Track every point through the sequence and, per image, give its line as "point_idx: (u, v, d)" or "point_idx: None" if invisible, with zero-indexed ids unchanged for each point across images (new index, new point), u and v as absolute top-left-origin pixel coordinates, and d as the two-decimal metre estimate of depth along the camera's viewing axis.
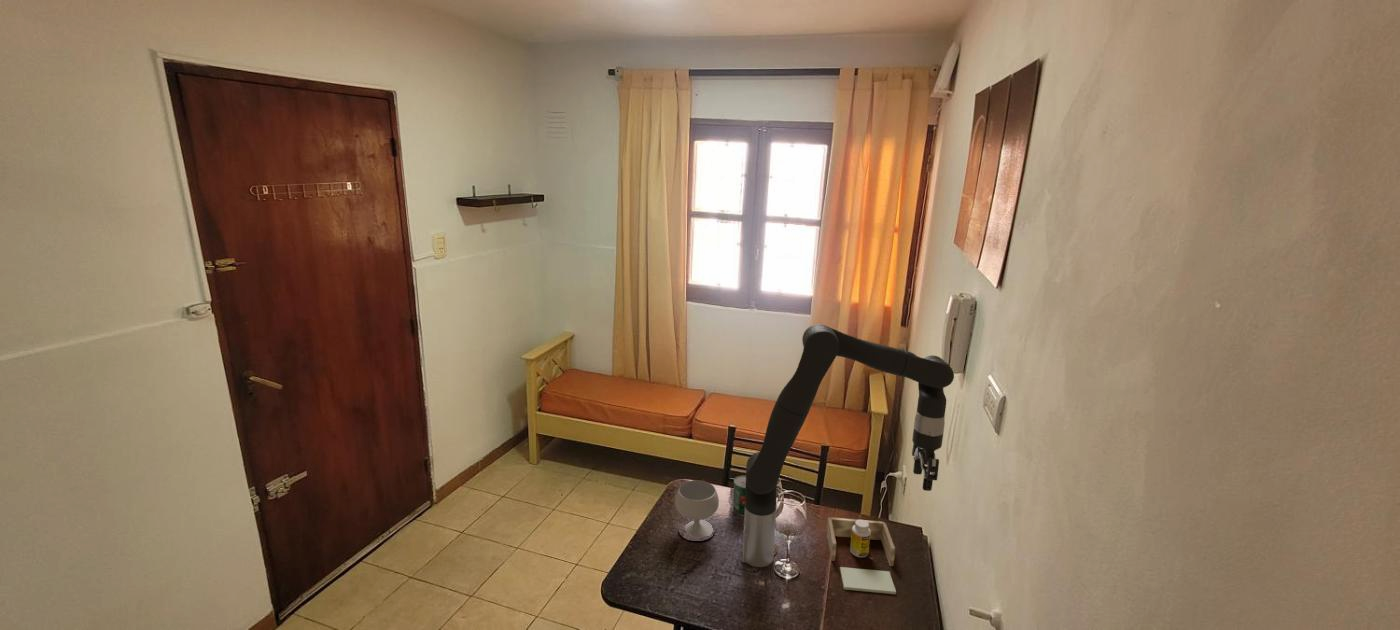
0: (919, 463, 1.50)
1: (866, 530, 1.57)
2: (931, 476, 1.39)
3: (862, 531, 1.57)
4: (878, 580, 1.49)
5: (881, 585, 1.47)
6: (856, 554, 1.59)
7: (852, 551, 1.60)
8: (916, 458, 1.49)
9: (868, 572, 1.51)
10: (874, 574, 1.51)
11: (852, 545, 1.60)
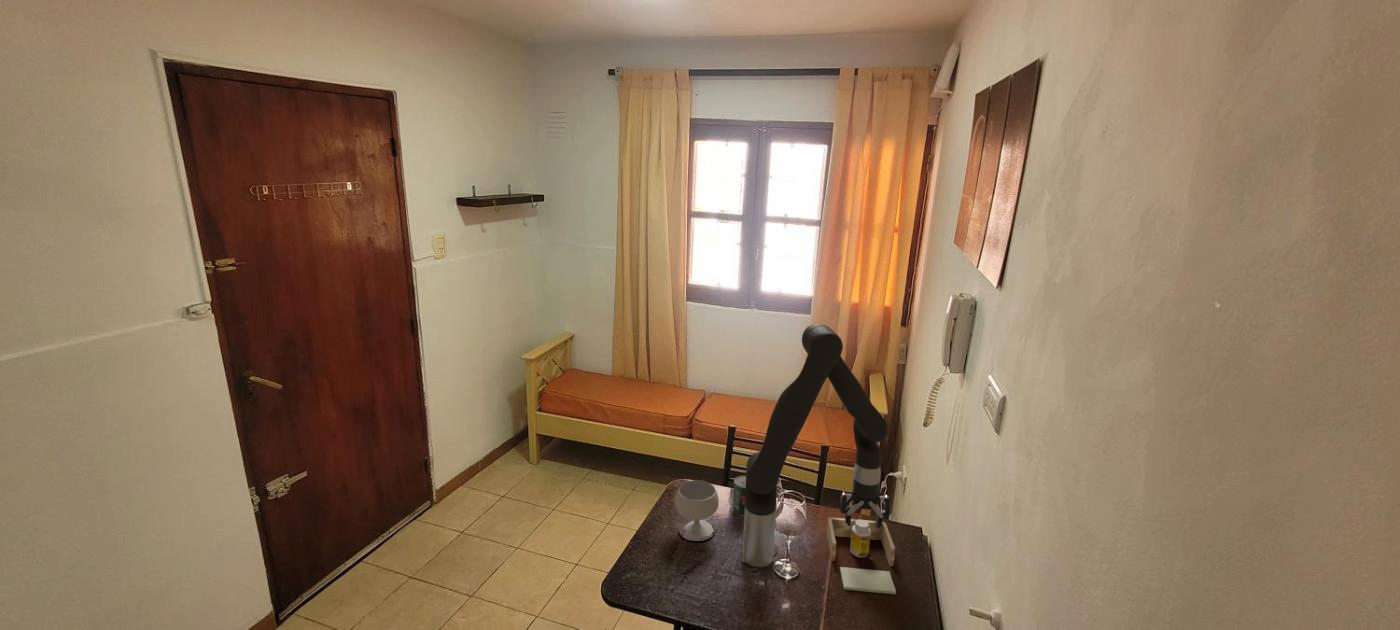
0: None
1: (866, 530, 1.57)
2: None
3: (862, 531, 1.57)
4: (878, 580, 1.49)
5: (881, 585, 1.47)
6: (856, 554, 1.59)
7: (852, 551, 1.60)
8: (853, 511, 1.57)
9: (868, 572, 1.51)
10: (874, 574, 1.51)
11: (852, 545, 1.60)
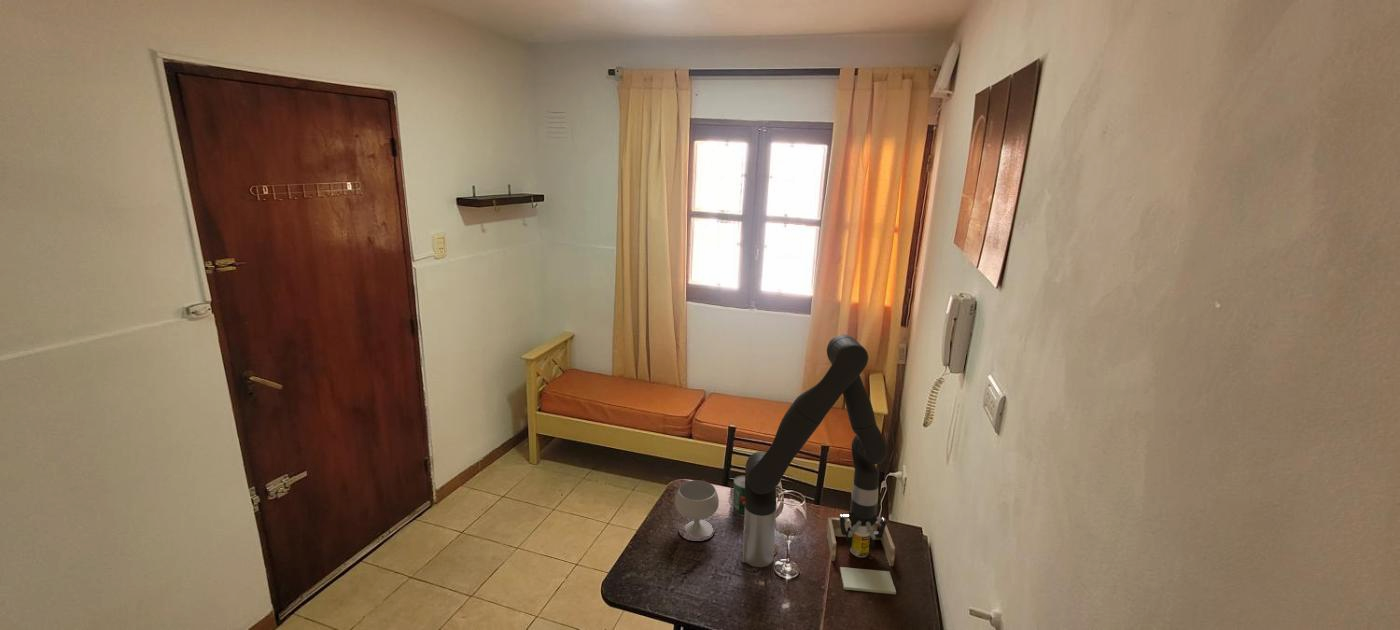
0: None
1: (866, 530, 1.57)
2: None
3: (862, 531, 1.57)
4: (878, 580, 1.49)
5: (881, 585, 1.47)
6: (856, 554, 1.59)
7: (852, 551, 1.60)
8: (853, 532, 1.59)
9: (868, 572, 1.51)
10: (874, 574, 1.51)
11: (852, 545, 1.60)
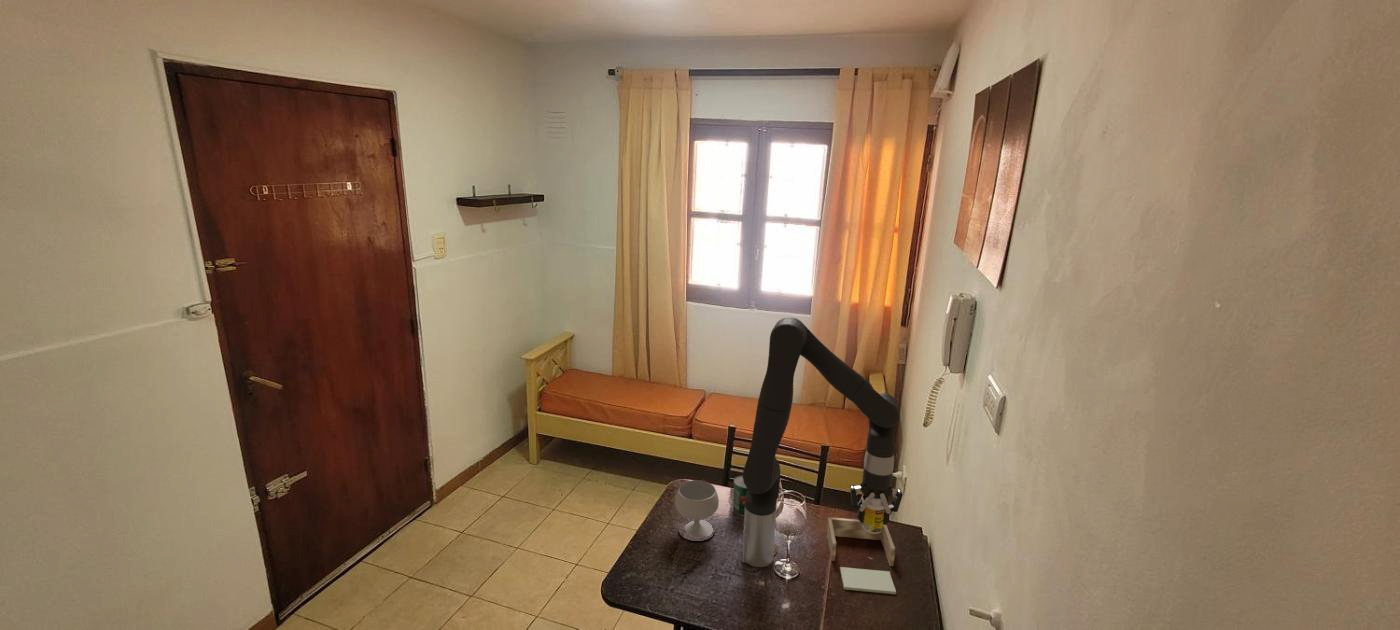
0: None
1: (880, 503, 1.41)
2: None
3: (875, 504, 1.42)
4: (878, 580, 1.49)
5: (881, 585, 1.47)
6: (869, 530, 1.43)
7: (864, 527, 1.44)
8: (866, 505, 1.43)
9: (868, 572, 1.51)
10: (874, 574, 1.51)
11: (864, 520, 1.44)
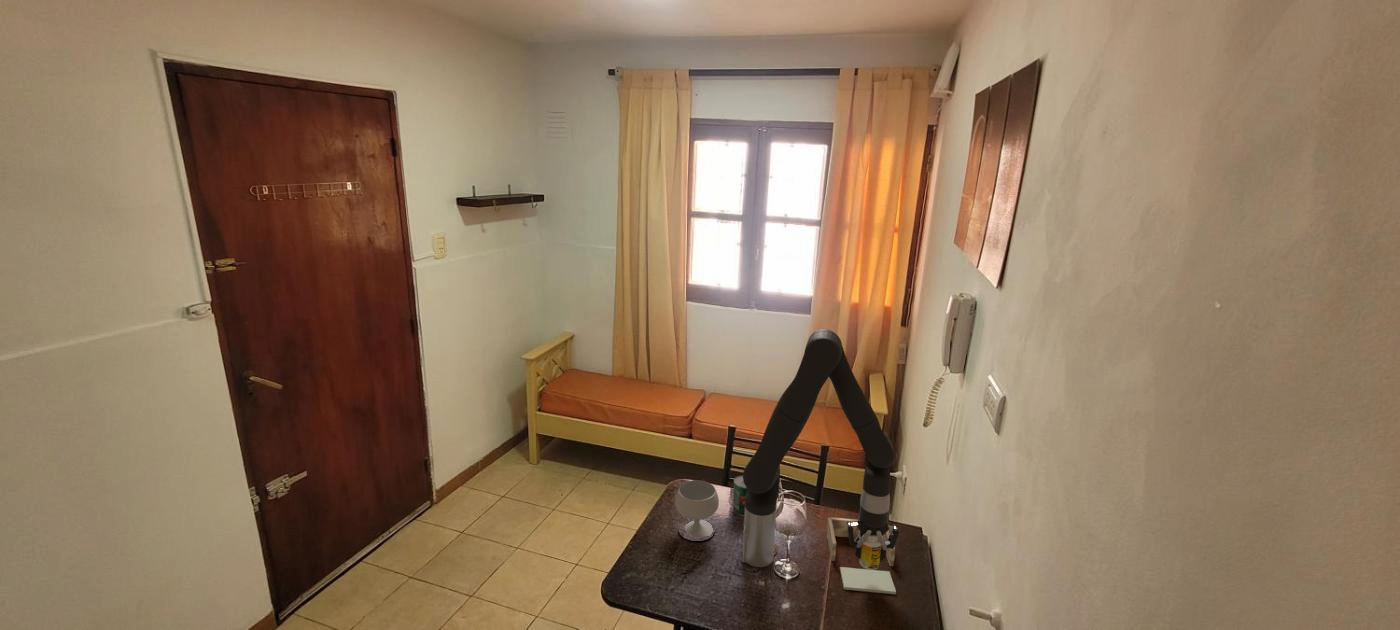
0: None
1: (876, 540, 1.44)
2: None
3: (872, 541, 1.44)
4: (878, 580, 1.49)
5: (881, 585, 1.47)
6: (866, 566, 1.45)
7: (861, 563, 1.46)
8: None
9: (868, 572, 1.51)
10: (874, 574, 1.51)
11: (861, 556, 1.46)
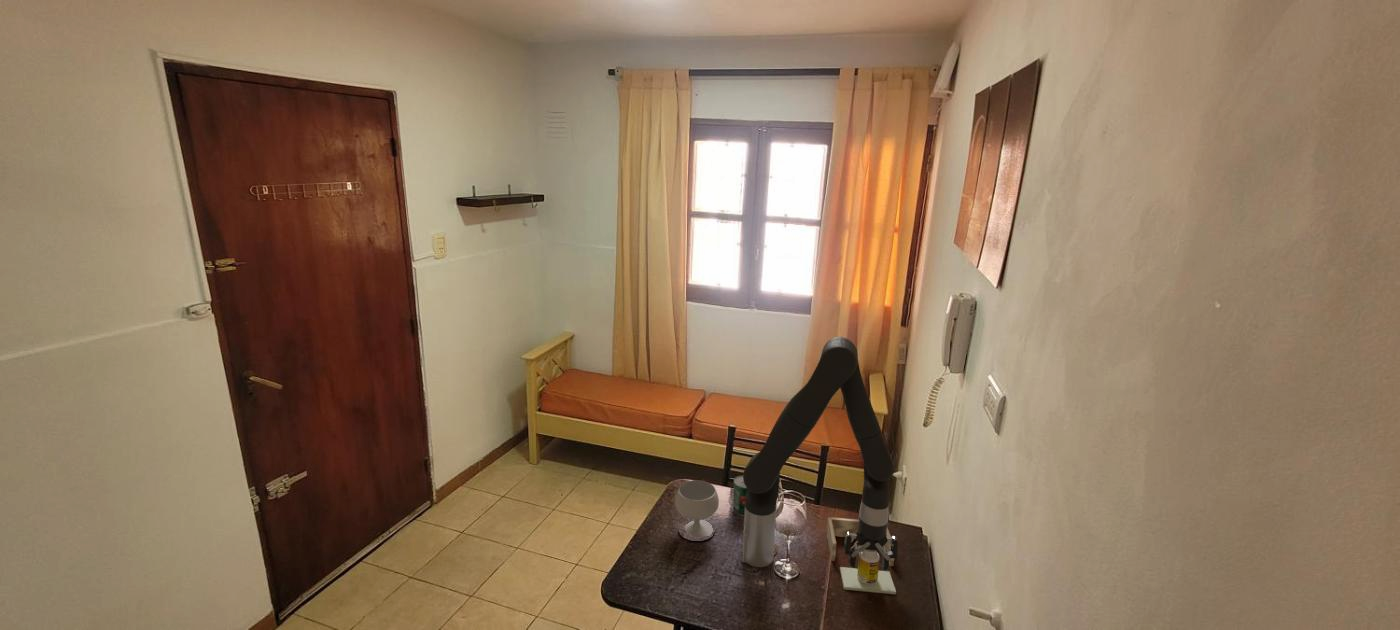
0: None
1: (874, 555, 1.45)
2: None
3: (870, 556, 1.45)
4: (878, 580, 1.49)
5: (881, 585, 1.47)
6: (864, 581, 1.47)
7: (859, 578, 1.48)
8: (858, 552, 1.46)
9: None
10: None
11: (859, 571, 1.47)
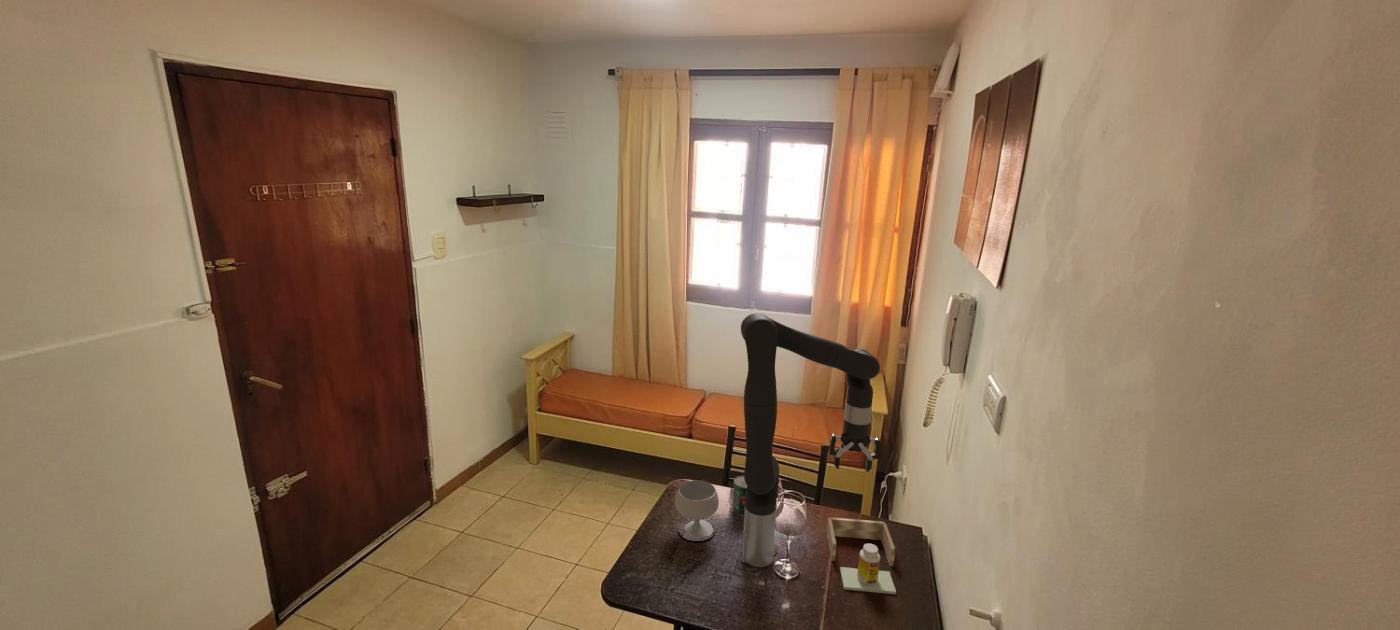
0: None
1: (875, 555, 1.45)
2: None
3: (871, 557, 1.45)
4: (878, 580, 1.49)
5: (881, 585, 1.47)
6: (864, 581, 1.47)
7: (860, 578, 1.48)
8: (842, 453, 1.53)
9: None
10: None
11: (860, 571, 1.47)
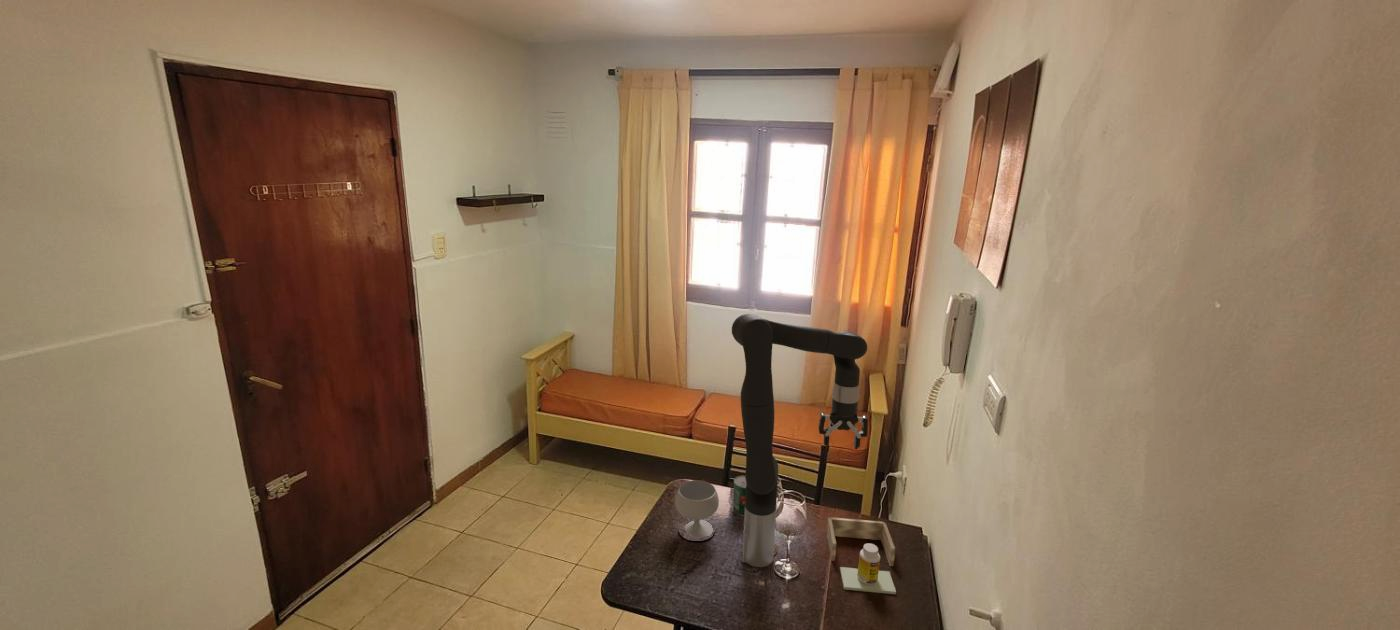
0: None
1: (875, 555, 1.45)
2: None
3: (871, 556, 1.45)
4: (878, 580, 1.49)
5: (881, 585, 1.47)
6: (864, 581, 1.47)
7: (860, 577, 1.48)
8: (831, 432, 1.58)
9: None
10: None
11: (860, 571, 1.47)
